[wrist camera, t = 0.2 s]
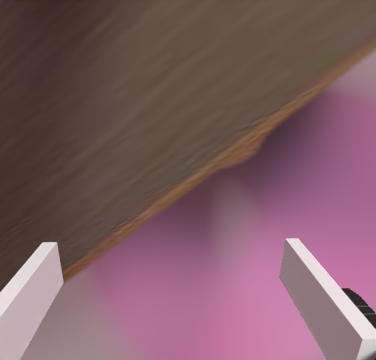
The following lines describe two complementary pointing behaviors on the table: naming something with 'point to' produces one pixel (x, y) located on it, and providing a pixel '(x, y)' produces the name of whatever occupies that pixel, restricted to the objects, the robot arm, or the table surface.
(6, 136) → the table surface
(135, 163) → the table surface
